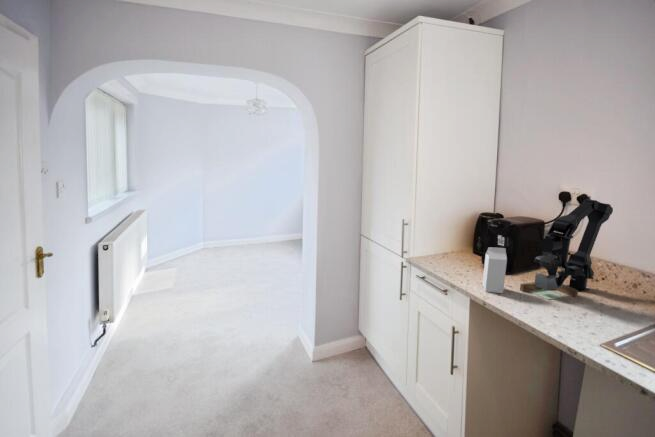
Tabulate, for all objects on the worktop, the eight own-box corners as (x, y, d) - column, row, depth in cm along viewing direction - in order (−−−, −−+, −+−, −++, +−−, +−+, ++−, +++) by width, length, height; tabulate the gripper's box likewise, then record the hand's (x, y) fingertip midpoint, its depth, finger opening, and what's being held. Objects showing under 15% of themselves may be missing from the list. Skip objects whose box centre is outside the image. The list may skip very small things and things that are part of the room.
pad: (545, 289, 165) (546, 288, 165) (564, 297, 157) (564, 296, 157) (530, 291, 162) (530, 291, 162) (548, 299, 154) (548, 299, 154)
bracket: (546, 290, 155) (547, 278, 154) (534, 285, 160) (535, 273, 159) (562, 287, 158) (564, 276, 157) (550, 282, 163) (551, 271, 162)
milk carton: (503, 293, 160) (508, 250, 156) (485, 291, 161) (489, 249, 157) (499, 287, 166) (503, 246, 163) (482, 285, 168) (486, 245, 164)
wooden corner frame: (550, 285, 169) (551, 279, 168) (577, 296, 157) (578, 290, 157) (519, 290, 163) (520, 283, 163) (544, 302, 152) (545, 295, 151)
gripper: (527, 244, 161) (522, 279, 164) (566, 257, 144) (561, 295, 147) (546, 242, 164) (542, 276, 168) (587, 255, 147) (581, 292, 150)
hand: (555, 284), depth 158 cm, fingers closed on bracket, 3 cm apart
